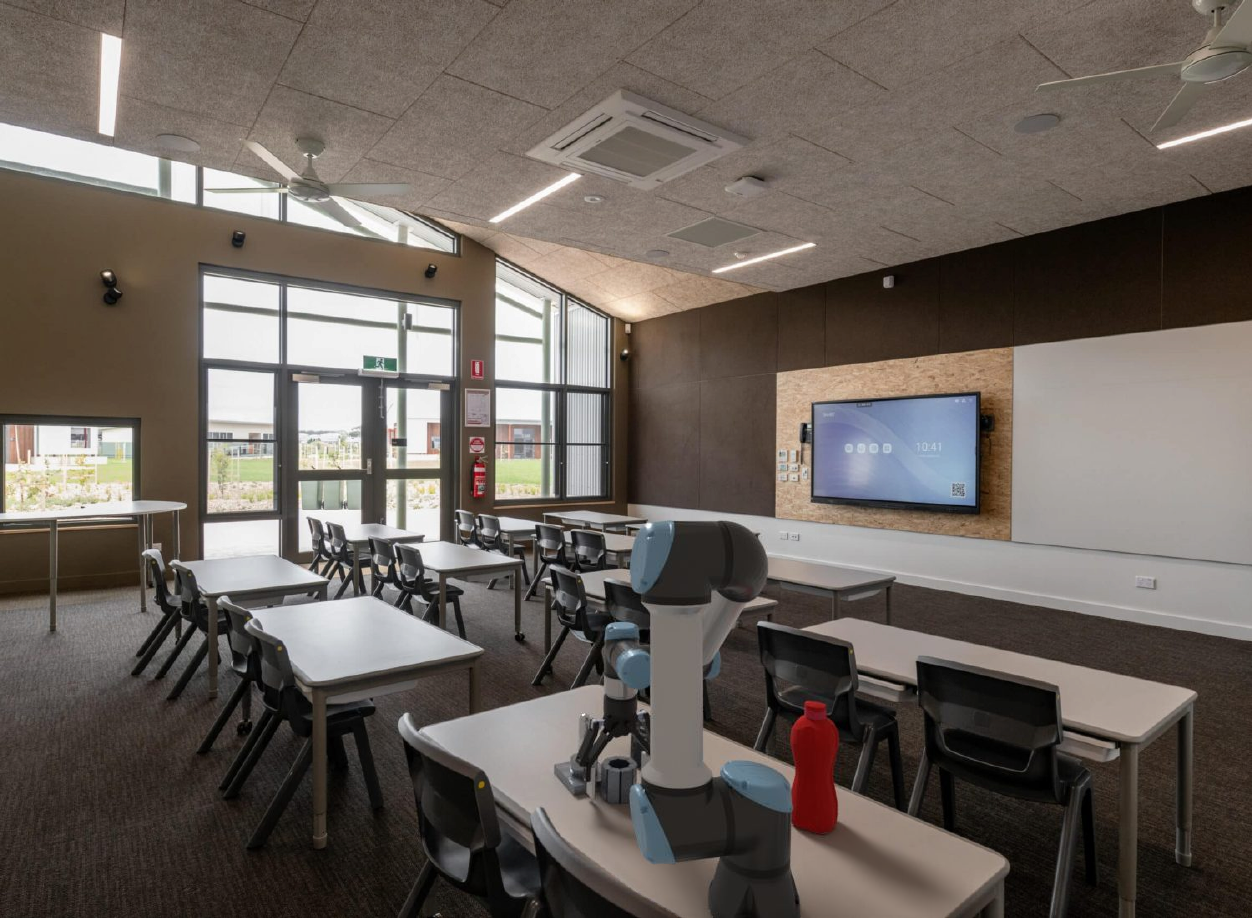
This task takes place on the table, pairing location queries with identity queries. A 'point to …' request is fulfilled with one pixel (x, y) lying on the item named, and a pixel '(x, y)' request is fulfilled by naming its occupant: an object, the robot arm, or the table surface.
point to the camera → (635, 746)
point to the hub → (618, 779)
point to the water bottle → (814, 770)
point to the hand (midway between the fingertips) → (618, 788)
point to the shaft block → (572, 771)
